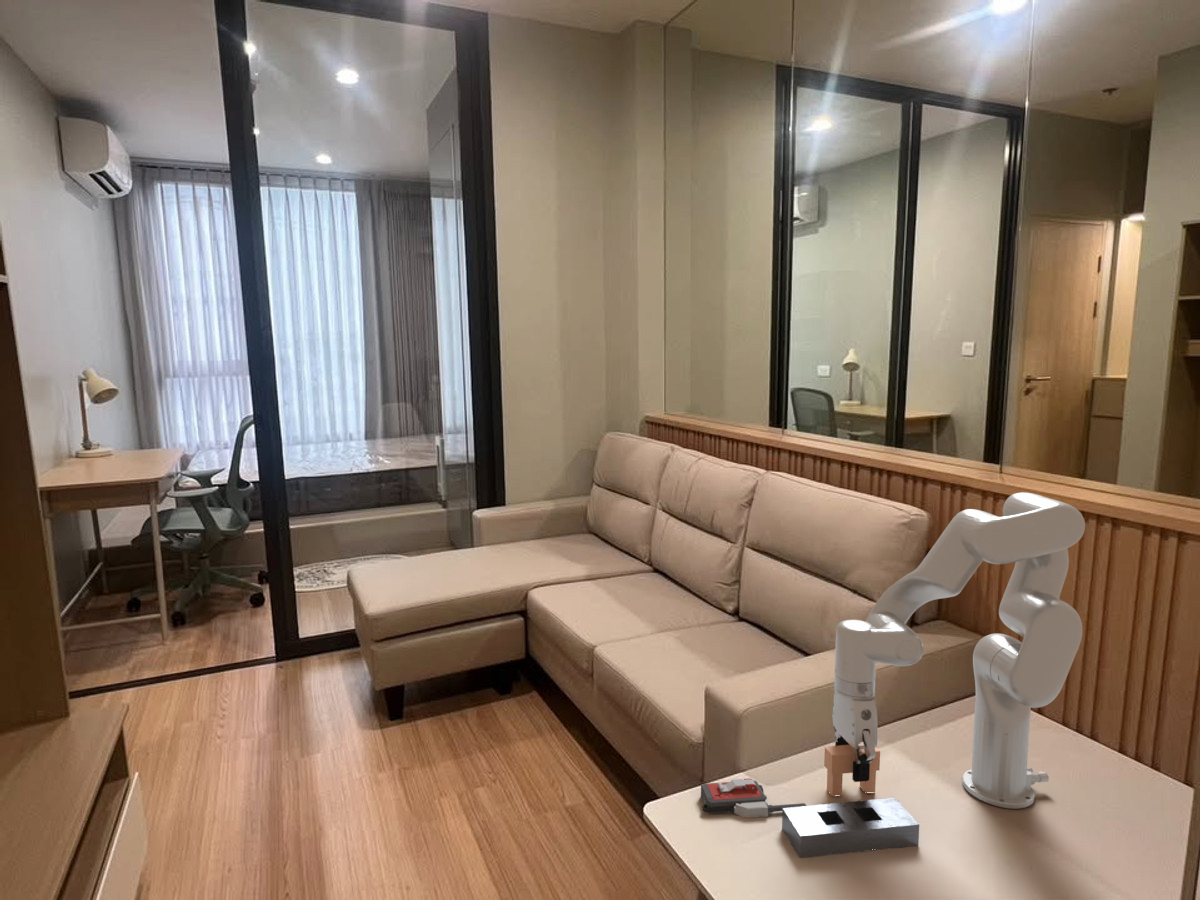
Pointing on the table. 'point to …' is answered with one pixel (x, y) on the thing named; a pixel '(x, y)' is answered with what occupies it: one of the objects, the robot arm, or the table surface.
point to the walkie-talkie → (738, 799)
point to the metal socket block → (849, 827)
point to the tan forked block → (847, 767)
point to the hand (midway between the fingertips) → (851, 769)
